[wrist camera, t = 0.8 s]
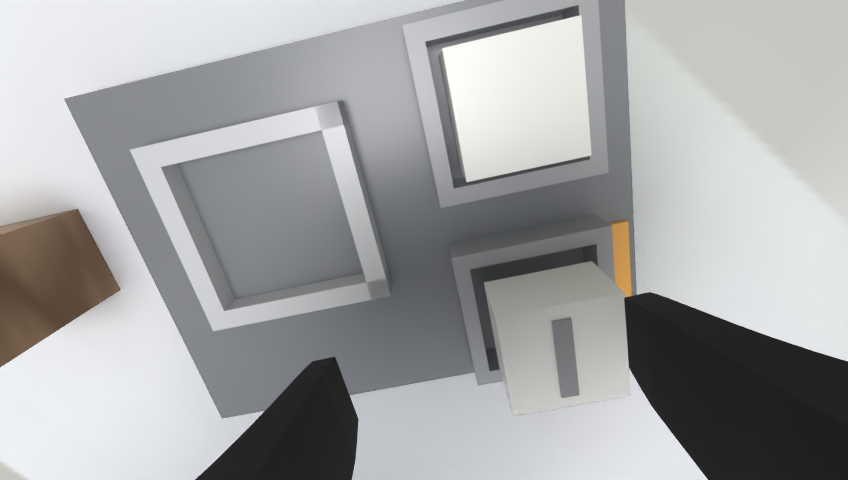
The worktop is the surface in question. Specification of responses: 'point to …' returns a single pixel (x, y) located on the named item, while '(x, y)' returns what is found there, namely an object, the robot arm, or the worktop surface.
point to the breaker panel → (373, 188)
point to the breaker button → (559, 337)
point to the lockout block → (47, 279)
